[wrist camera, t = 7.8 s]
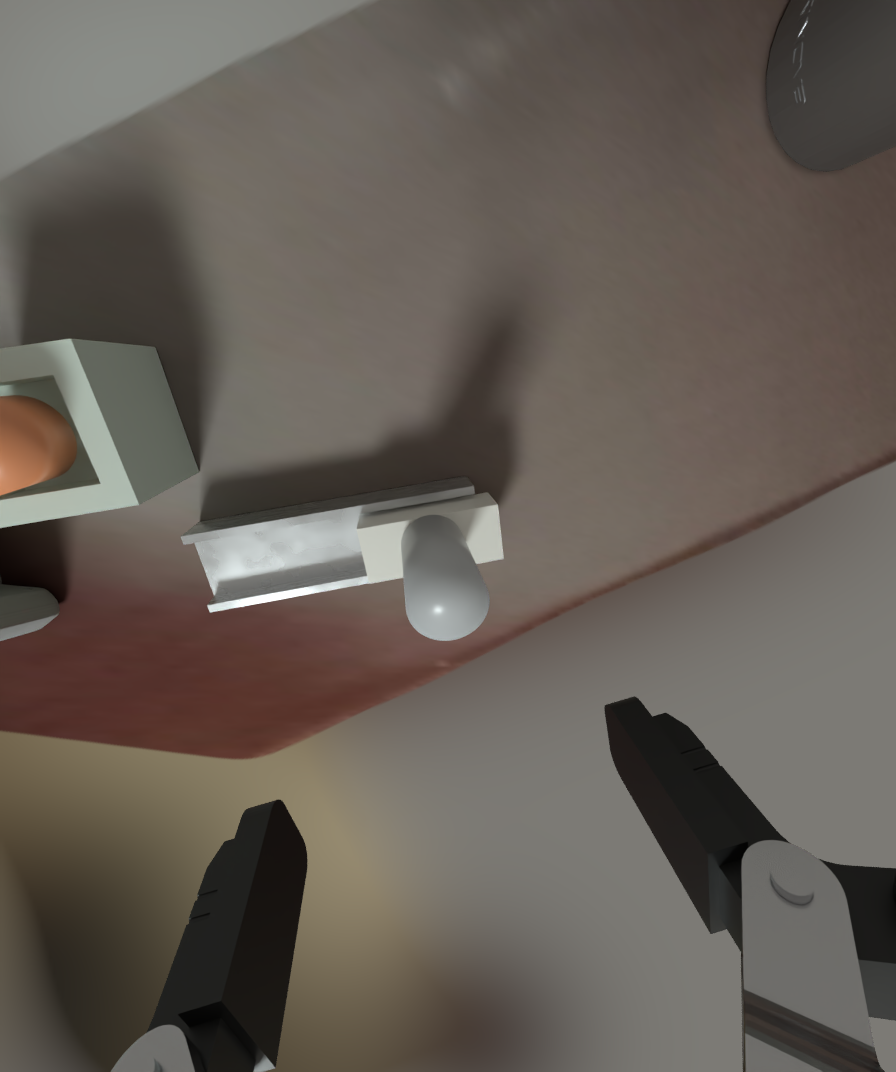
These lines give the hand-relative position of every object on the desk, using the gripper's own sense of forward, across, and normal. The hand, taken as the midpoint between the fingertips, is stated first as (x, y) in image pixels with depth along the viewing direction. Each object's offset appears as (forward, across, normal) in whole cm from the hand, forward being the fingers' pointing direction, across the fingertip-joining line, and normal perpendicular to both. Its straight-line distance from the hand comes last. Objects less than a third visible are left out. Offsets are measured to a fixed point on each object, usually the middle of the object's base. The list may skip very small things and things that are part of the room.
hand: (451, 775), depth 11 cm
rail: (+20, +4, 0) cm, 21 cm away
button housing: (+20, +14, -10) cm, 27 cm away
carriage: (+18, -1, 0) cm, 18 cm away
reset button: (+14, +15, -10) cm, 22 cm away
